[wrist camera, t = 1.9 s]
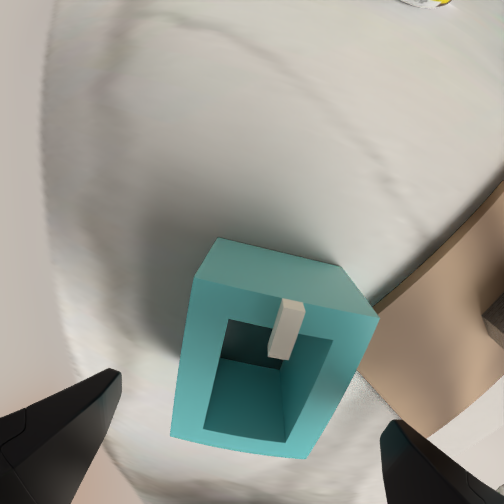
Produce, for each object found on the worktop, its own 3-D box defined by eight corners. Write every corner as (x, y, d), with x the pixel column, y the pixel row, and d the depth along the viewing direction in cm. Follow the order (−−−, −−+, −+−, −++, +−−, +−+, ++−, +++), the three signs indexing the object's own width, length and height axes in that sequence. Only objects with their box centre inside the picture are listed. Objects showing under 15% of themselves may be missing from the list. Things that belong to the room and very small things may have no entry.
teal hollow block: (296, 387, 15) (307, 469, 10) (192, 366, 15) (166, 446, 10) (341, 267, 13) (387, 327, 8) (217, 237, 13) (189, 285, 8)
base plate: (418, 433, 17) (423, 443, 15) (332, 338, 14) (336, 350, 13) (575, 271, 13) (584, 275, 12) (539, 133, 11) (551, 133, 10)
